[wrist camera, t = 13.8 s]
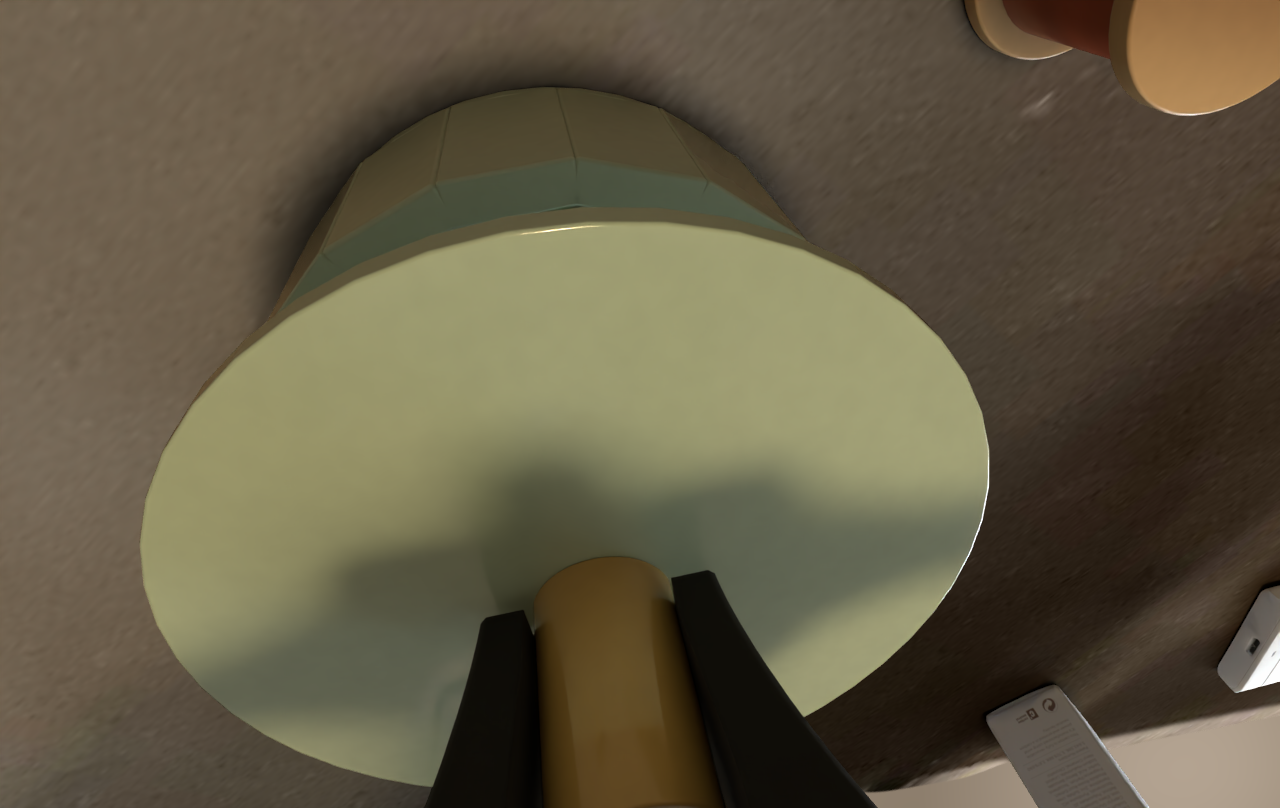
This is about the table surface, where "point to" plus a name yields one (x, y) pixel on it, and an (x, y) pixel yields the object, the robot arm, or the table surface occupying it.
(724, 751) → the robot arm
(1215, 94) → the spool
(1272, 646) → the hard drive
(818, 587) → the lid
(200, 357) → the table surface
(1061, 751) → the cosmetic box
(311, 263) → the tin
